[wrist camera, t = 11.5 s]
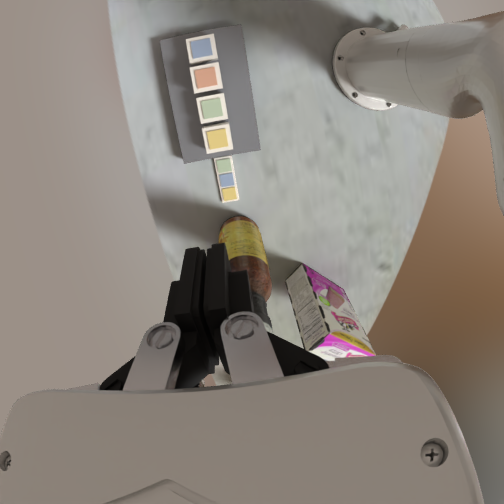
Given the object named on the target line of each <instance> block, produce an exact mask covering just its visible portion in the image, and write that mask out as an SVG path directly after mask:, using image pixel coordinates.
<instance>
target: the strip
mask: <svg viewBox="0 0 504 504" xmlns="http://www.w3.org/2000/svg"><path fill="white" fill-rule="evenodd" d="M214 162H215V167H216V172H217V177H218V182H219V187H220V192H221V197H222V202H223V203H225V202H231V201H237V200H239V195H238V189H237V183H236V177H235V172H234V166H233V160H232V155H228V156H223V157H217V158H214Z"/></svg>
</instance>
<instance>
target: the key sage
mask: <svg viewBox="0 0 504 504" xmlns="http://www.w3.org/2000/svg"><path fill="white" fill-rule="evenodd" d="M196 100H197V106H198V111H199V116H200V121H201V124H203V123H208V122H214V121H219V120H225V119H228V114H227V108H226V102H225V97H224V93H220V94H215V95H209V96H204V97H199V98H196Z"/></svg>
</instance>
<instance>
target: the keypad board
mask: <svg viewBox="0 0 504 504" xmlns="http://www.w3.org/2000/svg"><path fill="white" fill-rule="evenodd" d="M209 34H214V38H215V43H216V49H217V55H218V60H214V61H209V62H203V63H198V64H194V65H191V64H190V62H189V56H188V50H187V44H186V39H189V38H194V37H199V36H204V35H209ZM160 46H161V52H162V57H163V63H164V68H165V74H166V79H167V85H168V90H169V95H170V100H171V105H172V110H173V115H174V120H175V124H176V129H177V134H178V138H179V143H180V148H181V152H182V157H183V161H184V164H186V163H190V162H195V161H200V160H205V159H211V158H216V157H221V156H227V155H233V154H239V153H245V152H251V151H258V150H261V149H260V142H259V135H258V128H257V121H256V114H255V108H254V101H253V94H252V88H251V81H250V75H249V69H248V63H247V56H246V50H245V44H244V38H243V32H242V26H241V25H234V26H227V27H220V28H214V29H209V30H203V31H198V32H193V33H189V34H184V35H180V36H176V37H171V38H168V39H164V40H160ZM216 62H219V67H220V73H221V79H222V85H223V88H222V89H216V90H211V91H205V92H200V93H195V94H194V89H193V84H192V78H191V73H190V67H195V66H200V65H205V64H210V63H216ZM220 93H224V97H225V102H226V108H227V114H228V119H225V120H219V121H214V122H208V123H203V124H201V121H200V116H199V111H198V106H197V100H196V98H199V97H204V96H209V95H215V94H220ZM225 122H229V126H230V132H231V138H232V143H233V149H232V150H226V151H220V152H215V153H209V154H207V152H206V147H205V142H204V137H203V132H202V128H203V126H209V125H214V124H219V123H225Z"/></svg>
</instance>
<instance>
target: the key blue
mask: <svg viewBox="0 0 504 504" xmlns="http://www.w3.org/2000/svg"><path fill="white" fill-rule="evenodd" d="M186 44H187V50H188V56H189V62H190V64H191V65H194V64H198V63H203V62H209V61H214V60H218V55H217V49H216V43H215V38H214V34H209V35H204V36H199V37H194V38H189V39H186Z"/></svg>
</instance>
